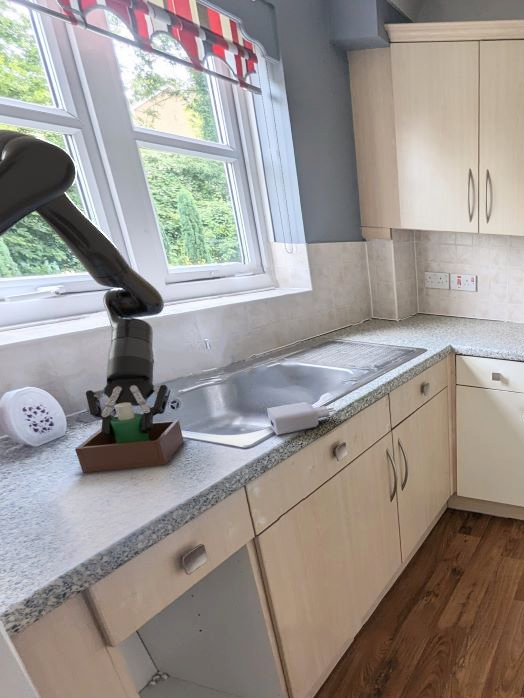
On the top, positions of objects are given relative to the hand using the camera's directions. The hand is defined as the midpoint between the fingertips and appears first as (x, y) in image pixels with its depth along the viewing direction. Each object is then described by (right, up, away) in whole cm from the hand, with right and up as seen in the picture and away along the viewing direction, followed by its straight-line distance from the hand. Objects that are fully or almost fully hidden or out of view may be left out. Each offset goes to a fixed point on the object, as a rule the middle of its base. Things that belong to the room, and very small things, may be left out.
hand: (127, 433), depth 94 cm
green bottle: (-1, -4, +3) cm, 5 cm away
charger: (+25, +1, +23) cm, 34 cm away
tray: (-1, -5, +3) cm, 6 cm away
